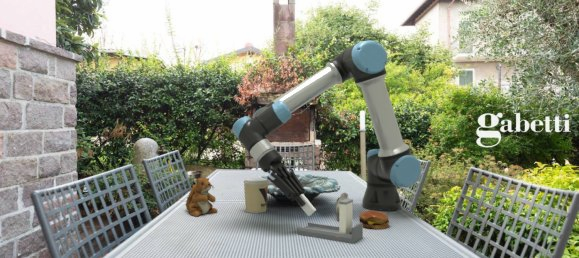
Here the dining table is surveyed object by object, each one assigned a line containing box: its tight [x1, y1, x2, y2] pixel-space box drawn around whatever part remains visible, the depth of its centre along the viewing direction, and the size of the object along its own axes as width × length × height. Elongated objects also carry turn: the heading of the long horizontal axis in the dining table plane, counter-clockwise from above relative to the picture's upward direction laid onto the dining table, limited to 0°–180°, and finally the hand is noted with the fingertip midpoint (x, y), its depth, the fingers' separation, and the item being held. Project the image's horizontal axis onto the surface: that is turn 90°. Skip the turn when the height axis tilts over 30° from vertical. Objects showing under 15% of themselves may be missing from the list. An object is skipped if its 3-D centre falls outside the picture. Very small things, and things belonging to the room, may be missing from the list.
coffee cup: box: [243, 177, 269, 214], centre depth 160 cm, size 9×9×12 cm
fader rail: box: [297, 222, 364, 244], centre depth 126 cm, size 18×7×4 cm, turn 59°
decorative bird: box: [334, 192, 349, 221], centre depth 152 cm, size 5×16×7 cm, turn 167°
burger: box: [358, 210, 390, 230], centre depth 139 cm, size 10×9×5 cm
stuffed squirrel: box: [185, 177, 219, 217], centre depth 157 cm, size 10×14×13 cm
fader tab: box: [338, 198, 354, 234], centre depth 124 cm, size 2×5×10 cm, turn 149°
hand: (312, 213), depth 129 cm, fingers closed
